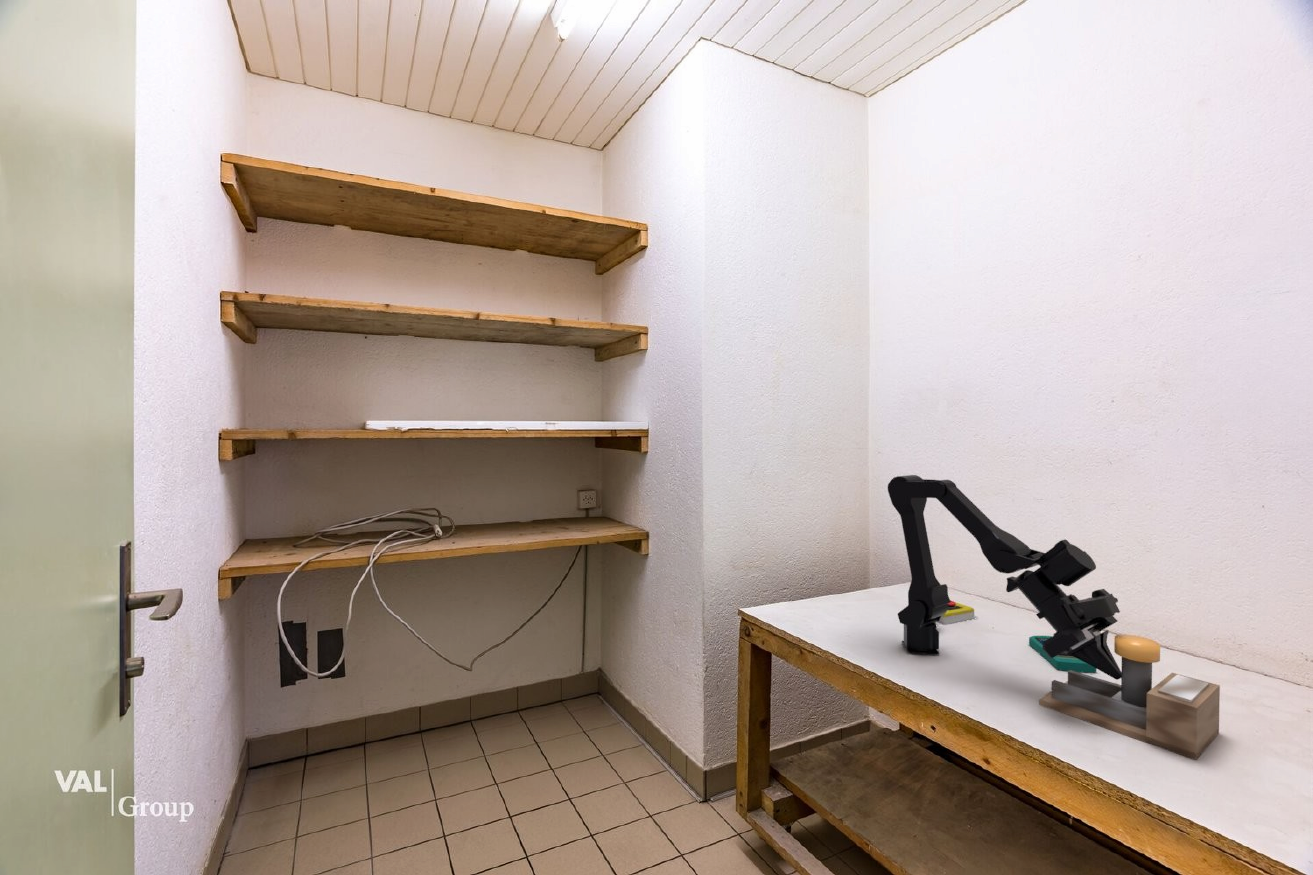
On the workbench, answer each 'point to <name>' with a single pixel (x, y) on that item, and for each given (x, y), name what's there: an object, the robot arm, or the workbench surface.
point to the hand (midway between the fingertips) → (1120, 678)
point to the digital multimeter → (1060, 657)
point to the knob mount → (1145, 710)
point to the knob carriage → (1136, 667)
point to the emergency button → (956, 614)
